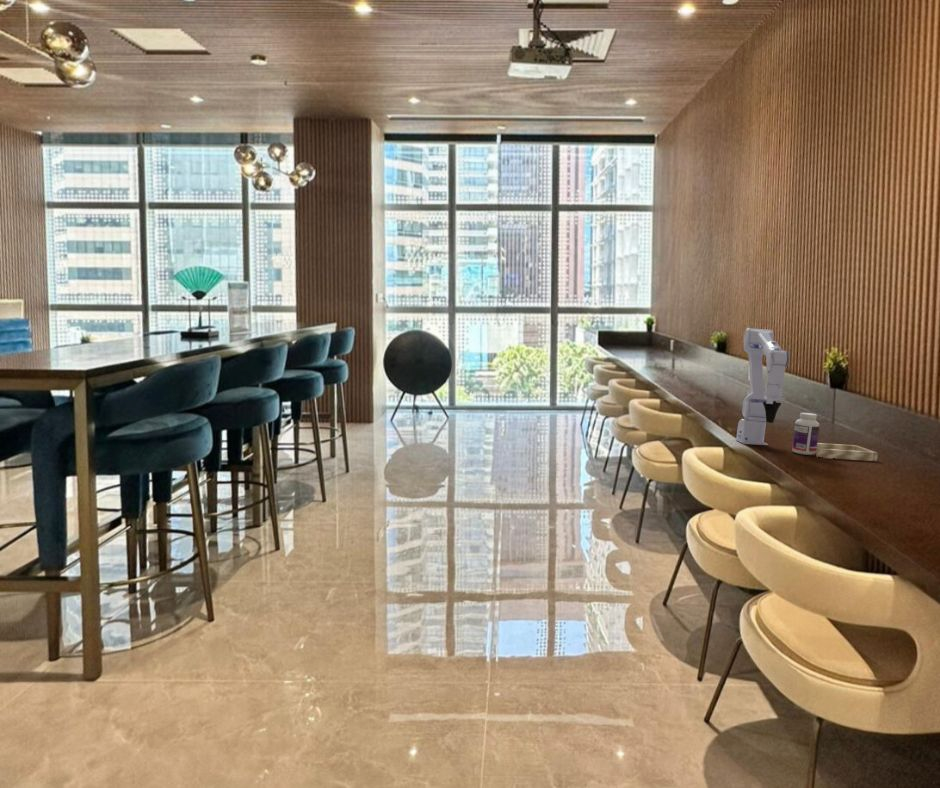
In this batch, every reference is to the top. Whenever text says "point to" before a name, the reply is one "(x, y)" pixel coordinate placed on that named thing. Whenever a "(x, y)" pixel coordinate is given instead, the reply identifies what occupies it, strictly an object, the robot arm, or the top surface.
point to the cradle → (845, 452)
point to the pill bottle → (806, 434)
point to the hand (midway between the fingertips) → (769, 422)
